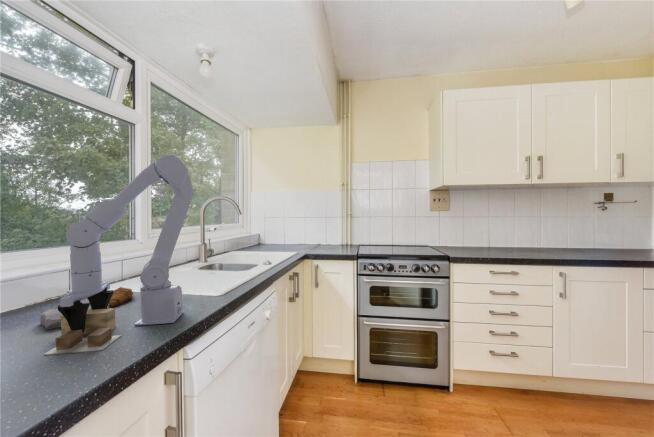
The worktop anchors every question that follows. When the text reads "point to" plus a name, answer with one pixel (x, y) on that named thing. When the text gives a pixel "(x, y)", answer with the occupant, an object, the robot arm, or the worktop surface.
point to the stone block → (54, 317)
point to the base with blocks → (83, 341)
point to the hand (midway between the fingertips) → (89, 326)
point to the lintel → (93, 321)
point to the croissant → (120, 296)
